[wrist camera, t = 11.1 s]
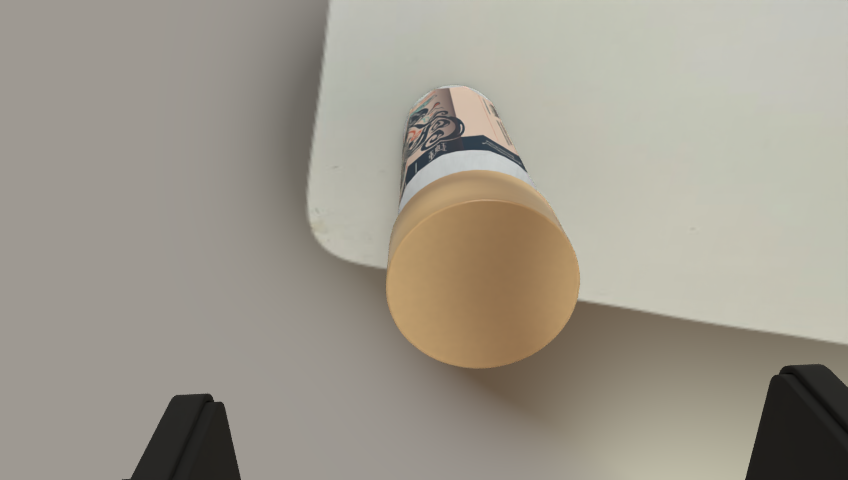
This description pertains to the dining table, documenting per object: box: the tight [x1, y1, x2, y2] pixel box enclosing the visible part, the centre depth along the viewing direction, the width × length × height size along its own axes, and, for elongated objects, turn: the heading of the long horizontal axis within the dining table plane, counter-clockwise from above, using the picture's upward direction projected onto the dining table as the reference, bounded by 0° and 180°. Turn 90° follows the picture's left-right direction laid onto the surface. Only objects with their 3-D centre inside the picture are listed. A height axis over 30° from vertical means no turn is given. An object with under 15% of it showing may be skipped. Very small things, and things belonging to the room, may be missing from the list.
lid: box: [386, 170, 580, 368], centre depth 19 cm, size 6×6×2 cm
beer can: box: [398, 85, 537, 215], centre depth 25 cm, size 5×5×12 cm
